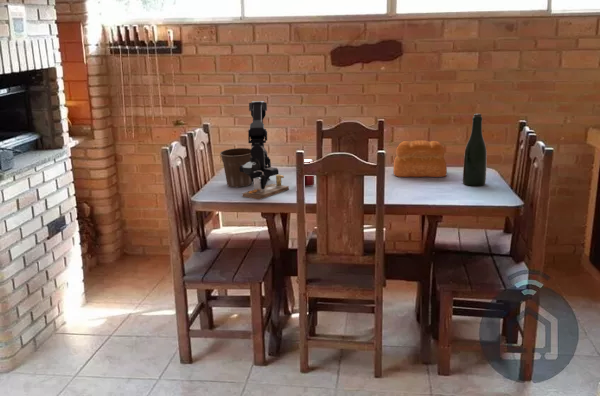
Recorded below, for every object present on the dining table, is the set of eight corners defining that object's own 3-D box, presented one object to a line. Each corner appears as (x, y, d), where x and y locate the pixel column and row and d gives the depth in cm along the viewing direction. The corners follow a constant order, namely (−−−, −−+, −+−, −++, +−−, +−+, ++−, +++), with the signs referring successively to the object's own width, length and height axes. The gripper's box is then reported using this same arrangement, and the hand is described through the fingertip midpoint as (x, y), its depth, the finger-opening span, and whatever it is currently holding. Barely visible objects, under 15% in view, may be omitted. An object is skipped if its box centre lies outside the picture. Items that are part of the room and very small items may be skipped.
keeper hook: (278, 184, 291) (278, 174, 290) (285, 185, 289) (284, 175, 288) (275, 185, 289) (274, 175, 288) (281, 186, 287) (281, 176, 286)
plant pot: (249, 189, 290) (247, 155, 285) (217, 188, 294) (214, 155, 289) (260, 180, 305) (258, 148, 300) (230, 179, 309) (227, 147, 304)
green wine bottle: (489, 183, 290) (493, 113, 282) (478, 187, 283) (482, 115, 274) (469, 180, 297) (472, 111, 289) (458, 184, 290) (461, 114, 281)
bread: (392, 171, 321) (393, 138, 317) (443, 171, 319) (445, 137, 314) (394, 178, 306) (394, 143, 302) (447, 178, 304) (449, 143, 299)
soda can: (316, 183, 298) (315, 159, 295) (311, 187, 291) (311, 162, 288) (302, 182, 300) (301, 158, 297) (297, 186, 293) (296, 161, 290)
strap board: (272, 186, 294) (272, 183, 293) (288, 189, 288) (288, 186, 287) (242, 196, 278) (242, 192, 277) (259, 199, 272) (259, 195, 271)
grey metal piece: (258, 189, 281) (257, 177, 280) (265, 191, 279) (264, 178, 277) (245, 193, 275) (245, 180, 273) (252, 195, 272) (252, 181, 271)
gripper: (230, 155, 274) (232, 189, 278) (262, 159, 263) (263, 195, 267) (247, 151, 282) (248, 184, 286) (278, 155, 271) (279, 189, 275)
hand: (259, 188), depth 278 cm, fingers closed on grey metal piece, 4 cm apart
